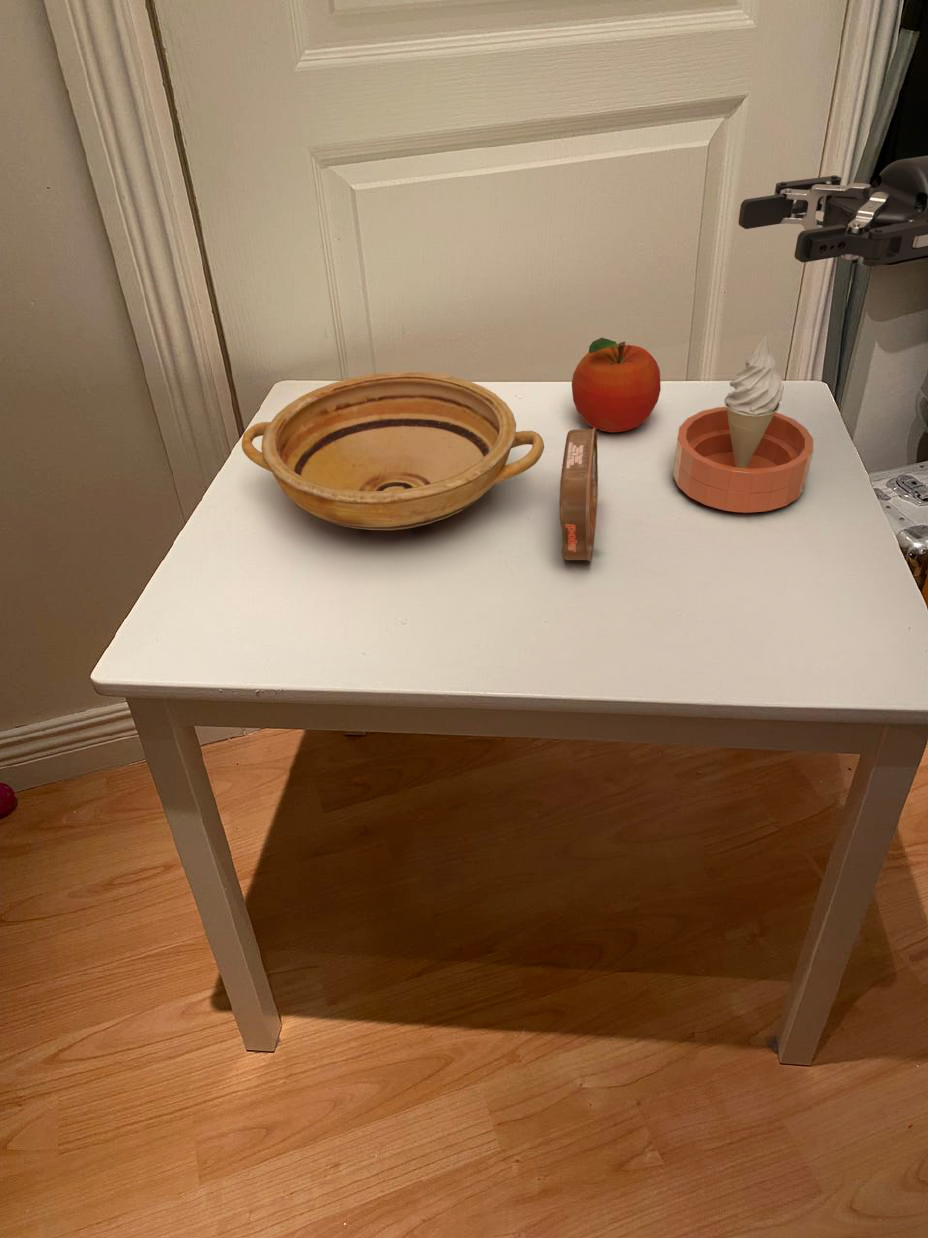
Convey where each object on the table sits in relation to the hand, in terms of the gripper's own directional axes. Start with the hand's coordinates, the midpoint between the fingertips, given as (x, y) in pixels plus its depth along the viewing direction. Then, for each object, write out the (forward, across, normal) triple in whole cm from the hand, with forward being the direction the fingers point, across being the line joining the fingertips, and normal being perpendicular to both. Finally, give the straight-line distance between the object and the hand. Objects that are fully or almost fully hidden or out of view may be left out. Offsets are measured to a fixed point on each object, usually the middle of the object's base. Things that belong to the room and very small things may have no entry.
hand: (769, 230), depth 75 cm
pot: (-3, -2, +26) cm, 26 cm away
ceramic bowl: (+30, -12, +26) cm, 41 cm away
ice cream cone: (-3, -2, +25) cm, 25 cm away
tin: (+15, 0, +26) cm, 30 cm away
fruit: (+4, -18, +26) cm, 32 cm away
